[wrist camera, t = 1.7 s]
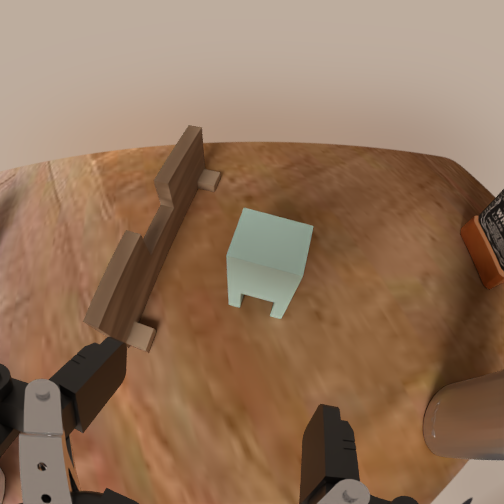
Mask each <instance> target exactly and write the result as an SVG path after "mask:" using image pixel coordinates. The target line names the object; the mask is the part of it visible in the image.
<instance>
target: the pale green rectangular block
mask: <svg viewBox="0 0 504 504" xmlns="http://www.w3.org/2000/svg"><path fill="white" fill-rule="evenodd" d="M312 231H313V226H311V225H308V224H304V223H300V222H297V221H293V220H289V219H286V218H282V217H278V216H274V215H270V214H267V213H263V212H259V211H255V210H251V209H247V208H244V209H243V211H242V214H241V217H240V219H239V222H238V225H237V228H236V230H235V233H234V236H233V239H232V241H231V244H230V247H229V250H228V253H227V255H226V256H227V279H228V300H229V305H232V306H235V307H239V308H240V306H241V303H242V299H243V296H244V294H245V295H249V296H252V297H256V298H260V299H263V300H267V301H270V302H274V303H273V306H272V310H271V314H270V316H271V317H275V318H279V319H281V318H282V316H283V314H284V313H285V311H286V309H287V307H288V305H289V303H290V301H291V299H292V297H293V295H294V293H295V291H296V289H297V287H298V285H299V283H300V281H301V279H302V277H303V274H304V269H305V264H306V260H307V255H308V250H309V246H310V241H311V236H312Z"/></svg>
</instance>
